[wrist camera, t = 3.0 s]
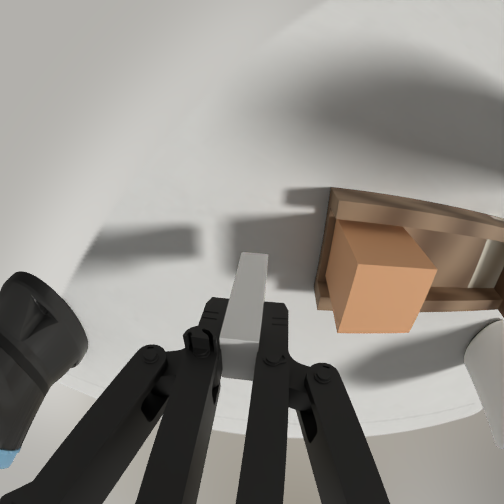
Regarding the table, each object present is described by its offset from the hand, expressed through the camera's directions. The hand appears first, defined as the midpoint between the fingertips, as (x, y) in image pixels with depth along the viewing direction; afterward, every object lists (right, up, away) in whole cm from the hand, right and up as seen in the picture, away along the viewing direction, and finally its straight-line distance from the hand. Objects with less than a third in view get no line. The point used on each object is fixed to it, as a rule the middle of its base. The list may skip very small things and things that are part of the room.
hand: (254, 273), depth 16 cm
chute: (+15, +1, +3) cm, 15 cm away
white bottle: (+31, -10, +9) cm, 33 cm away
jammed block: (+8, +1, +3) cm, 9 cm away
